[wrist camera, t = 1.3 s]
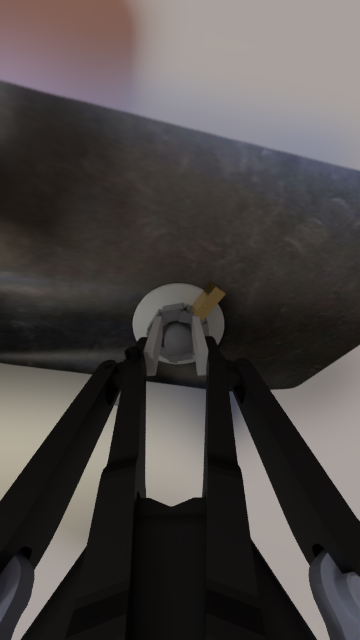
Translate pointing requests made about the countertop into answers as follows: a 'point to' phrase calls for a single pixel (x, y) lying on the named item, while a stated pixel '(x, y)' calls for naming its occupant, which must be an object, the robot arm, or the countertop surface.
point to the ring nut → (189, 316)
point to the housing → (175, 332)
